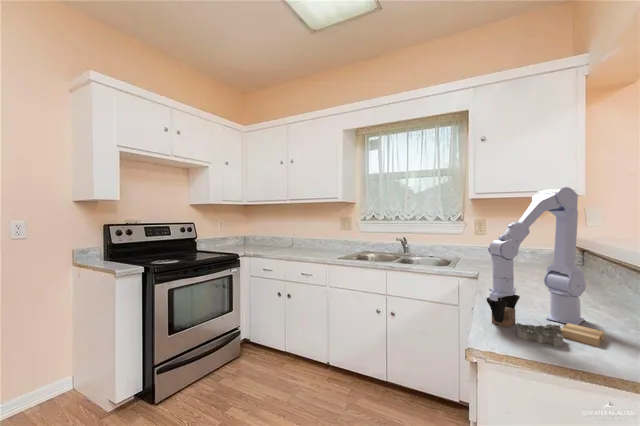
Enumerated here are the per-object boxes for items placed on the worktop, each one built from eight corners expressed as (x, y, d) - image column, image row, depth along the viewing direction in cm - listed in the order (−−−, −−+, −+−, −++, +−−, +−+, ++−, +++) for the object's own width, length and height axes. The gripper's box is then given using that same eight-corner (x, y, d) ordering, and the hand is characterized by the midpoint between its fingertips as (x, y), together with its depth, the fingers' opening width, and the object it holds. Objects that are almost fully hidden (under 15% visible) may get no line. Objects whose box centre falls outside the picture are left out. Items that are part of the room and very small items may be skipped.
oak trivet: (568, 331, 88) (567, 323, 88) (604, 340, 81) (604, 331, 81) (560, 337, 83) (560, 329, 83) (598, 348, 77) (598, 338, 77)
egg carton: (562, 339, 81) (562, 325, 82) (564, 349, 76) (564, 334, 76) (517, 330, 88) (517, 317, 88) (515, 339, 82) (515, 324, 82)
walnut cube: (498, 319, 97) (498, 305, 97) (515, 324, 93) (515, 308, 93) (491, 323, 94) (491, 307, 94) (509, 328, 90) (508, 311, 90)
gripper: (499, 272, 101) (499, 311, 101) (479, 277, 92) (480, 320, 92) (522, 275, 95) (523, 316, 95) (503, 281, 86) (504, 327, 86)
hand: (503, 319), depth 93 cm, fingers open, 7 cm apart
